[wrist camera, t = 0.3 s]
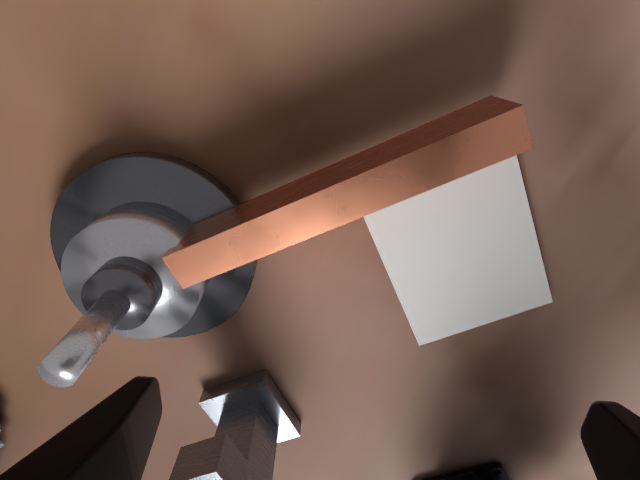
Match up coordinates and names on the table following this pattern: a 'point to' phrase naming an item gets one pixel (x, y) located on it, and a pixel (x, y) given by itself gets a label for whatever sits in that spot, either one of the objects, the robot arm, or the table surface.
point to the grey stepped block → (239, 432)
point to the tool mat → (463, 252)
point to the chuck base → (165, 189)
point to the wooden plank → (255, 229)
